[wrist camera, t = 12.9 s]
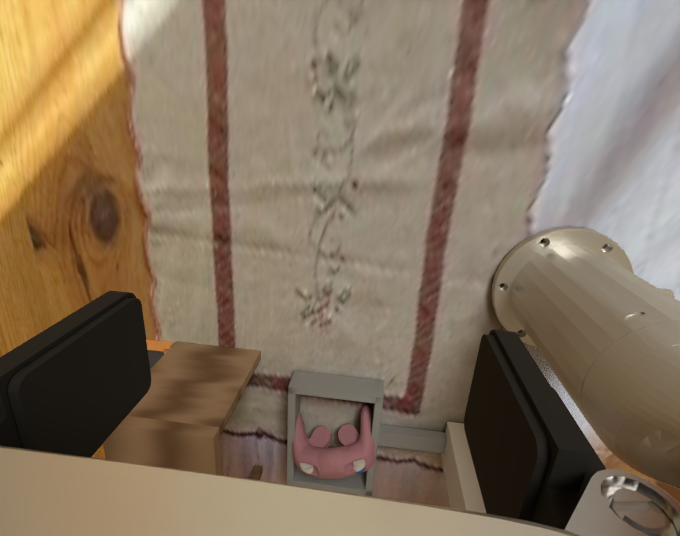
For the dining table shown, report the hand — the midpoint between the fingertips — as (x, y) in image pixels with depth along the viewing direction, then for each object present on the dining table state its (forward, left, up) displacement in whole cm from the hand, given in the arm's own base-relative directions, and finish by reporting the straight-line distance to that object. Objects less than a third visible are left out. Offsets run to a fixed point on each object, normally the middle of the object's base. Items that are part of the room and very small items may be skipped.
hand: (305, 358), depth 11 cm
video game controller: (+1, +28, -28) cm, 40 cm away
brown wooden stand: (+15, +28, -28) cm, 43 cm away
